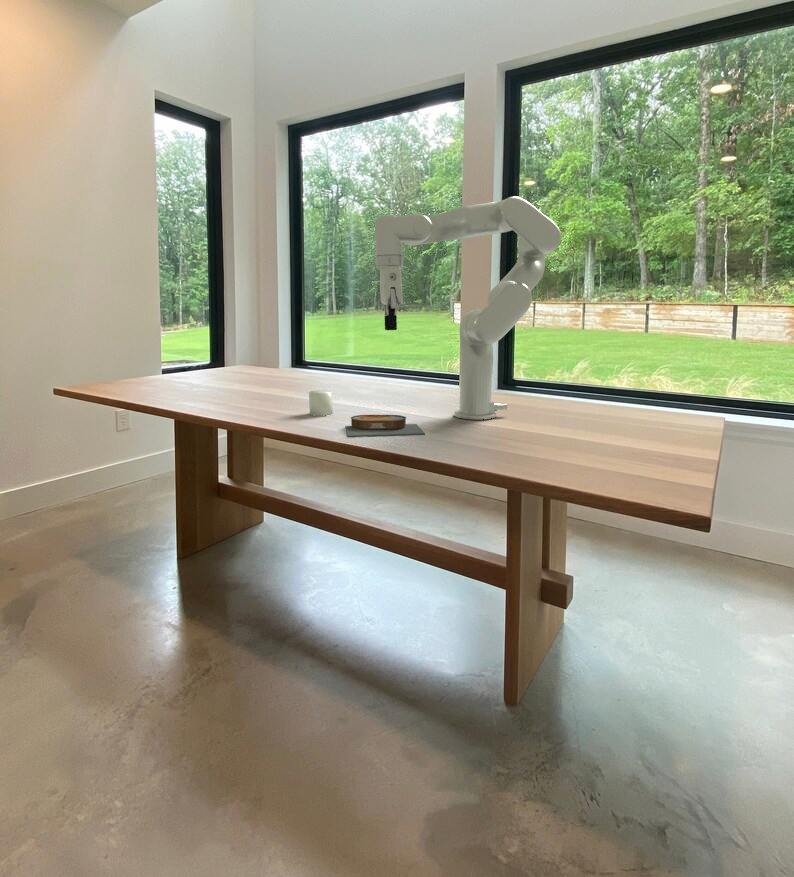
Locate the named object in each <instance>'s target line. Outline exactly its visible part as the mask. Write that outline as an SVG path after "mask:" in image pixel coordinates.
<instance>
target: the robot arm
mask: <svg viewBox="0 0 794 877" xmlns="http://www.w3.org/2000/svg"><path fill="white" fill-rule="evenodd" d="M511 231H513V232H515V234H517V235H518V239H517V250H518V258H517V261H516V263H515V264H514V265H513V267H512V268H511V269H510V271H508V273H506V275H505V276H504V277H503V278H502V279H501V280H500V281H499V282H498V283H497V284H496V285H495V286H494V287H493V288H492V289H491V290H490V292H489V293H488V296H487V305H486V306H485V307H484V308H477V309H472V310H470V311H468V312H466V313H465V314H464V315H463V316H462V318H461V320H460V323H459V340H460V374H459V377H460V378H459V380H460V381H459V383H460V384H459V409H457V410H454V413H453V415H454V416H455V417H456V418H459V419H462V420H463V419H464V420H474V421H475V420H477V421H478V420H479V421H482V420H483V419H484V420H490V419H491V418H492V419H494V418H496V417H497V411H506V410H507V409H508V405H507V403H500V402H499V403H498V402H497V403H496V402H494V400H492V397H493V395H492V394H493V372H494V371H493V370H494V369H493V368H494V347H493V344H496V343H497V342H498V341H500V340H502V338H504V337H505V336H506V334H508V332H509V331H510V330H511V329H513V328H514V327H515V325H516V324H517V323H518V322H519V321H520V320H521V319H522V318H523V317H524V315H526V313H527V312H528V311H529V309H530V306H531V304H532V299H533V297H532V291H533V289H534V288H535V287H536V286H537V285H538V284H539V282H540V281H541V280H542V278H543V276H544V273H545V268H546V255H549V254H552V253H553V252H554V251H556V250H557V249H558V247H559V246H560V245H561V241H562V234H561V230H560V228H559V226H558V225H557V224H556V223H555V222H554V221H553V220H552V219H551V218H549V217H548V216H546V215H545V214H544V213H542V211H540V210H539V209H538V208H536V206H534V205H532V203H530V202H529V201H527V200H526V199H524V198H522V197H520V196H516V195H514V196H509V197H507V198H505V199H503V200H498V201H491V202H486V203H485V202H484V203H478V204H472V205H471V204H469V205H464V206H459V207H456V208H452V209H450V210H448V211H445V212H441V213H438V214H433V215H428V216H426V215H424V214H422V213H414V214H407V215H406V214H405V215H394V214H382V215H378V216H377V217H376V218H375V220H374V233H375V234H374V236H375V237H374V238H375V240H374V241H375V268H376V269H377V270H379V289H380V290H379V291H380V292H379V294H380V302H381V304H382V305H384V307H383V308H384V330H385V331H397V329H398V324H397V323H398V321H397V318H398V317H397V305H402V304H403V303H404V300H403V283H402V282H403V281H402V270H401V269H404V254H403V253H404V251H403V250H404V248H403V245H404V244H405V245H407V246H411V247H412V246H421V245H426V244H427V245H428V244H432V243H433V244H434V243H439V242H445V241H456V240H457V241H458V240H464V239H471V238H475V237H476V238H477V237H482V236H489V235H490V236H491V235H496V234H502V233H508V232H511Z"/></svg>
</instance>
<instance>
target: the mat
mask: <svg viewBox="0 0 794 877" xmlns="http://www.w3.org/2000/svg"><path fill="white" fill-rule="evenodd" d="M344 427H345V428H344V429H345V431H346V434H347V437H348V438H355V437H354V436H358V437H357V438H360V437H359V436H367V437H391V436H393V437H394V436H395V435H398V436H418V435H419V436H420V435H422V436H423V435H424V436H425V435H426V432H425V431H424V430H423V429H422V428H421V427H420V426H419V425H418V424H417V423H407V424H406V425H405V427H404V428H401V429H356V428H353V427H352V425H345V426H344Z"/></svg>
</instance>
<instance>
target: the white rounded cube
mask: <svg viewBox="0 0 794 877" xmlns="http://www.w3.org/2000/svg"><path fill="white" fill-rule="evenodd" d="M308 399H309V400H308V401H309V402H308V404H309V408H308V409H309V416H311V415H315V416H314V417H318V416H322V417H326V416H325V415H330V416H332V415H333V414H334V413H333V391H332V390H328V389H327V390H326V389H325V390H324V389H319V390H318V389H315V390H310V391H309V392H308ZM331 414H332V415H331ZM323 415H324V416H323Z"/></svg>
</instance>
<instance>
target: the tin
mask: <svg viewBox="0 0 794 877" xmlns="http://www.w3.org/2000/svg"><path fill="white" fill-rule="evenodd" d="M350 419H351V421H350V423H351V426H352V427H353V428H356V429H401V428H404V427H405V425H406V421H407V420H406V419H407V417H406V416H404V415H401V414H357V415H353V416H351V417H350Z"/></svg>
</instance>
